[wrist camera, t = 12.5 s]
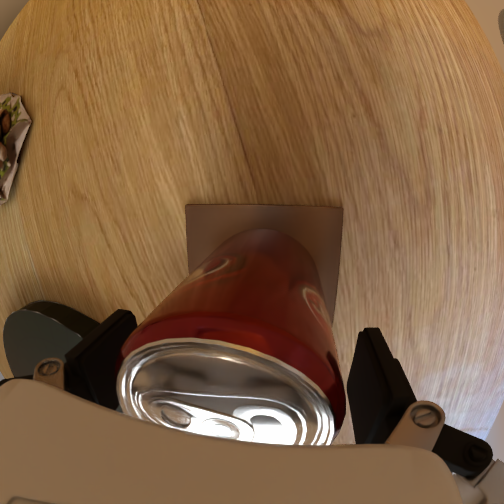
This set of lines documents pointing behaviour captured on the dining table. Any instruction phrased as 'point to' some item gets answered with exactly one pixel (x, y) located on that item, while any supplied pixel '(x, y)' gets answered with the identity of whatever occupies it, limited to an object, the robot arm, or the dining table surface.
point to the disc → (43, 335)
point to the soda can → (240, 349)
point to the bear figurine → (10, 139)
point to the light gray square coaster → (275, 218)
